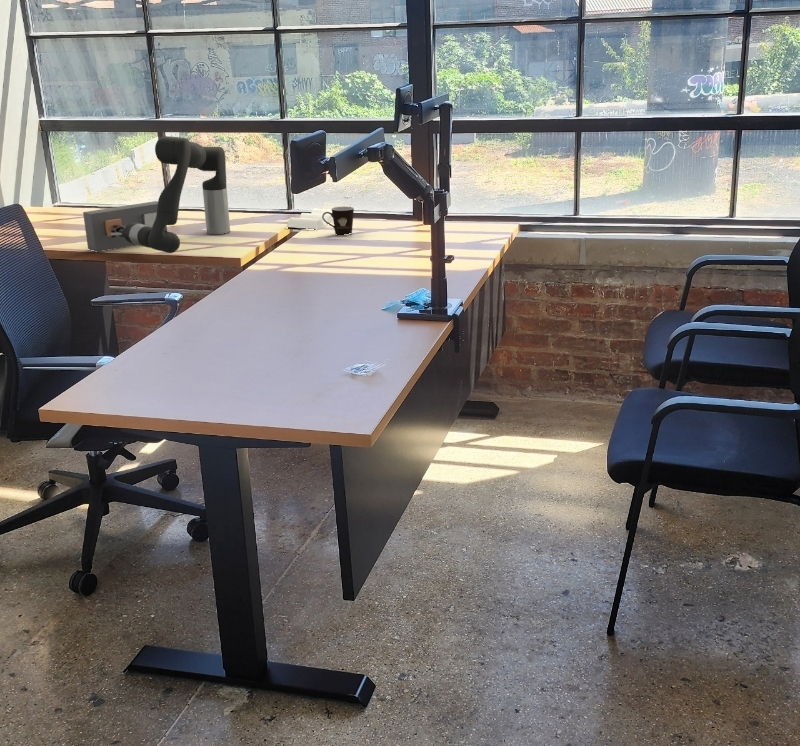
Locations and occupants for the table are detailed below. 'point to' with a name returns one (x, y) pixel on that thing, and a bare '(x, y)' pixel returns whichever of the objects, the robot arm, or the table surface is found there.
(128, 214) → the press panel
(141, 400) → the table surface
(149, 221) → the grey plunger
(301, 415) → the table surface
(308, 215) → the file organizer
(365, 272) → the table surface
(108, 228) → the terracotta plunger
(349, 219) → the coffee mug
